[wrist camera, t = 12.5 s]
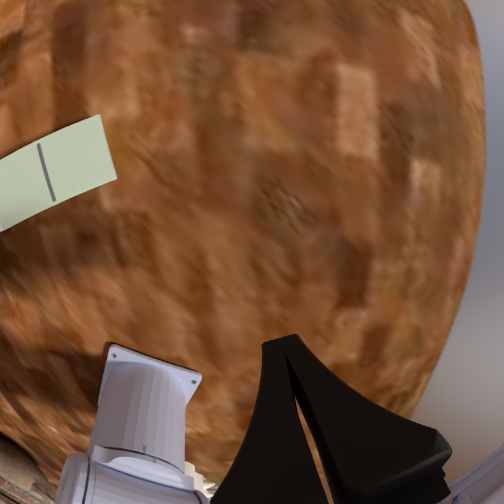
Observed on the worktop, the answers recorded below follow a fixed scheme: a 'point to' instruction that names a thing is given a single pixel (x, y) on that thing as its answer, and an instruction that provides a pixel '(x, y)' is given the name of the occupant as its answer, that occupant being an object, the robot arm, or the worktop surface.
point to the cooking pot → (21, 478)
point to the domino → (54, 170)
